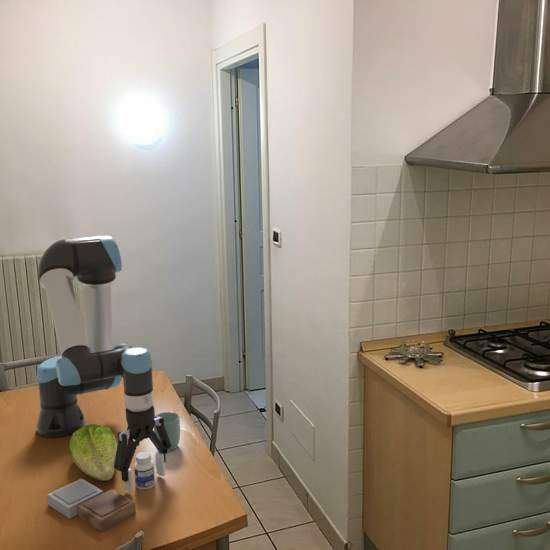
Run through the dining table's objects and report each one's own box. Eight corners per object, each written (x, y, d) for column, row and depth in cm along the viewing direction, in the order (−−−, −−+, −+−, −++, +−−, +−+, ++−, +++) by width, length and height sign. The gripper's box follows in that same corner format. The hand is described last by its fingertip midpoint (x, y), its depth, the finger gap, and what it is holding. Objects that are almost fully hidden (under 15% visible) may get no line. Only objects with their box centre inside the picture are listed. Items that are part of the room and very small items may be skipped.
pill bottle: (136, 480, 175) (134, 451, 173) (156, 479, 175) (154, 449, 173) (134, 490, 169) (132, 460, 168) (154, 489, 170) (152, 459, 168)
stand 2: (78, 516, 158) (77, 504, 157) (112, 499, 165) (111, 488, 165) (101, 531, 152) (100, 519, 151) (135, 513, 159) (134, 501, 158)
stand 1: (48, 504, 164) (47, 493, 163) (82, 488, 171) (81, 477, 170) (69, 518, 157) (68, 506, 157) (103, 501, 165) (102, 489, 164)
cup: (175, 454, 189) (174, 423, 187) (151, 452, 190) (149, 421, 188) (184, 442, 196) (182, 412, 194) (161, 440, 198) (159, 411, 196)
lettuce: (74, 479, 166) (111, 445, 169) (58, 437, 187) (91, 407, 190) (103, 504, 172) (139, 470, 174) (85, 461, 193) (117, 431, 195)
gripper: (112, 424, 157) (118, 505, 161) (181, 396, 173) (185, 470, 178) (94, 416, 162) (101, 495, 166) (164, 389, 178) (168, 461, 183)
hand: (145, 482), depth 172 cm, fingers open, 10 cm apart
